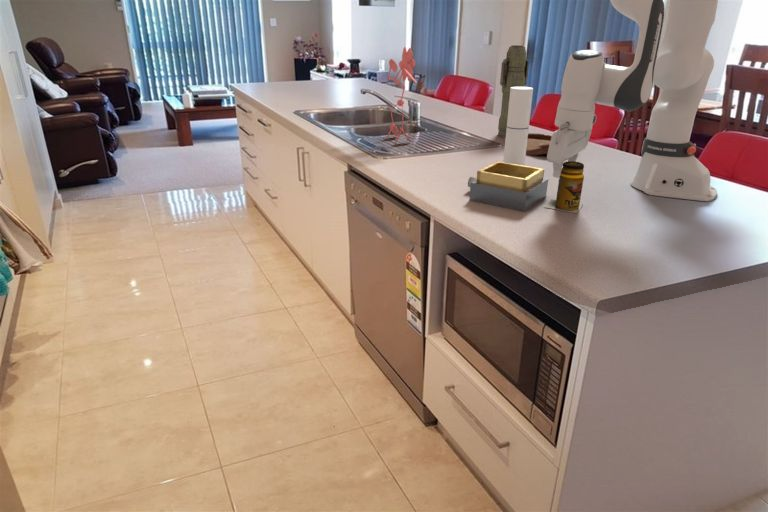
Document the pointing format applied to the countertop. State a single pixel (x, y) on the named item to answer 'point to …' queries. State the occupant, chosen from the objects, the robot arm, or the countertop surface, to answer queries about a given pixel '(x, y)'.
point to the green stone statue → (512, 80)
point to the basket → (537, 144)
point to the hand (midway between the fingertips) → (563, 172)
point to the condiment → (569, 188)
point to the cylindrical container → (518, 125)
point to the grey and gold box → (508, 186)
